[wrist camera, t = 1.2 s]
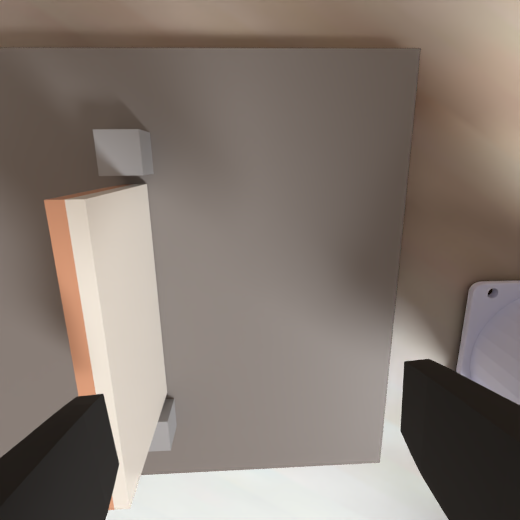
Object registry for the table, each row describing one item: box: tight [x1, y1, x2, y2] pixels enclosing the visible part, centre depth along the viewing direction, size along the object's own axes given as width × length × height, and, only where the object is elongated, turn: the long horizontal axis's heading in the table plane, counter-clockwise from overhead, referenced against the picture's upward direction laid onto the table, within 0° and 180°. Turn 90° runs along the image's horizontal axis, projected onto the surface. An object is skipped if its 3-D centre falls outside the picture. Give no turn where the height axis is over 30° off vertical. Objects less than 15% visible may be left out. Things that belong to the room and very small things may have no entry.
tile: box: [44, 184, 167, 510], centre depth 13 cm, size 1×10×6 cm, turn 1°
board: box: [0, 48, 421, 475], centre depth 16 cm, size 22×20×3 cm
